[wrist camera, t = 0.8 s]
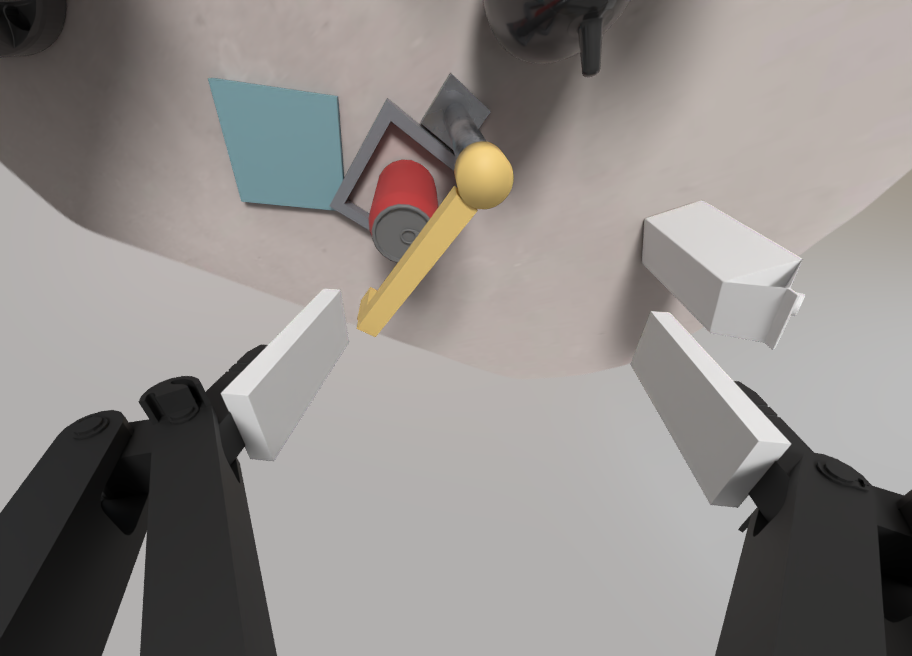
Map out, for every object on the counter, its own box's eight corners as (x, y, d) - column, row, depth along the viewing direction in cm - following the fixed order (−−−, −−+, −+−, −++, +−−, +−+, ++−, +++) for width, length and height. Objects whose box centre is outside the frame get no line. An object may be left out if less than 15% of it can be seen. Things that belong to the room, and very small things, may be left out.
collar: (421, 256, 44) (421, 262, 43) (331, 201, 39) (329, 206, 38) (482, 177, 38) (484, 181, 37) (387, 97, 33) (386, 100, 32)
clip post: (459, 153, 37) (483, 222, 23) (420, 121, 34) (423, 177, 21) (489, 110, 34) (536, 159, 21) (450, 72, 32) (474, 101, 19)
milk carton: (640, 263, 48) (735, 359, 34) (643, 217, 44) (754, 307, 29) (693, 247, 47) (813, 339, 33) (701, 198, 42) (845, 282, 28)
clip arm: (386, 312, 30) (382, 345, 27) (352, 295, 28) (344, 328, 25) (509, 154, 22) (525, 175, 19) (472, 121, 21) (482, 136, 18)
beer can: (429, 221, 41) (433, 274, 32) (375, 210, 40) (362, 262, 31) (441, 165, 37) (449, 207, 28) (380, 151, 36) (368, 190, 27)
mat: (244, 198, 38) (241, 201, 37) (212, 77, 31) (207, 78, 30) (346, 208, 39) (345, 211, 39) (338, 96, 32) (336, 97, 32)
